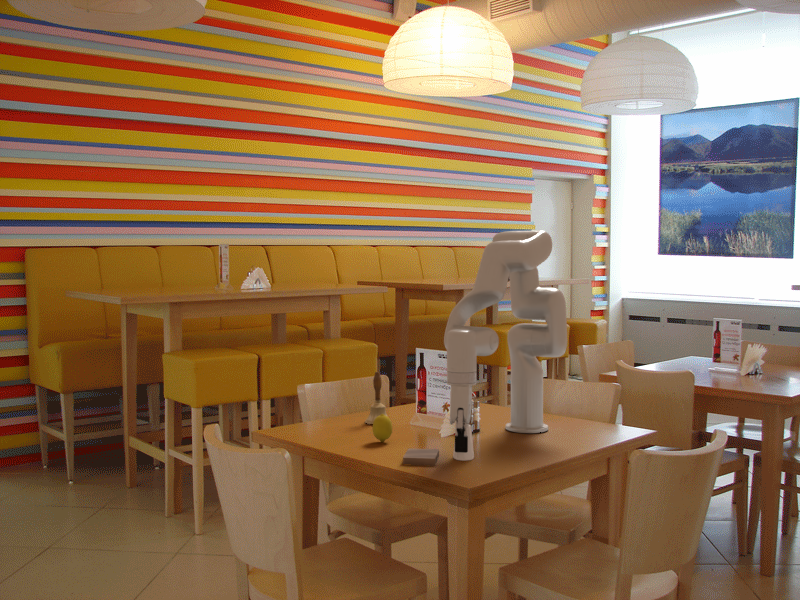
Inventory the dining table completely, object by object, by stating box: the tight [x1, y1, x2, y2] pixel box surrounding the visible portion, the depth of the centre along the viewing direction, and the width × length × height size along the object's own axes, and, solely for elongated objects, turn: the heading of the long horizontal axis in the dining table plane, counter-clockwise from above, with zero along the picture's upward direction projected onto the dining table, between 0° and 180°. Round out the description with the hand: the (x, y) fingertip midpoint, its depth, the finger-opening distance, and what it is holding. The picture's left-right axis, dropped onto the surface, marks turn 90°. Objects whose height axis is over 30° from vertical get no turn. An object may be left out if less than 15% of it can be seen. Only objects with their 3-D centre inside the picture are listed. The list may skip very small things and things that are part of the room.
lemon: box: [372, 414, 393, 443], centre depth 212 cm, size 6×6×8 cm
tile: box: [402, 448, 440, 467], centre depth 193 cm, size 2×8×10 cm
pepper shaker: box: [452, 422, 475, 462], centre depth 194 cm, size 5×5×11 cm
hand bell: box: [364, 371, 389, 425], centre depth 240 cm, size 8×8×16 cm
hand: (461, 449), depth 194 cm, fingers closed on pepper shaker, 4 cm apart
